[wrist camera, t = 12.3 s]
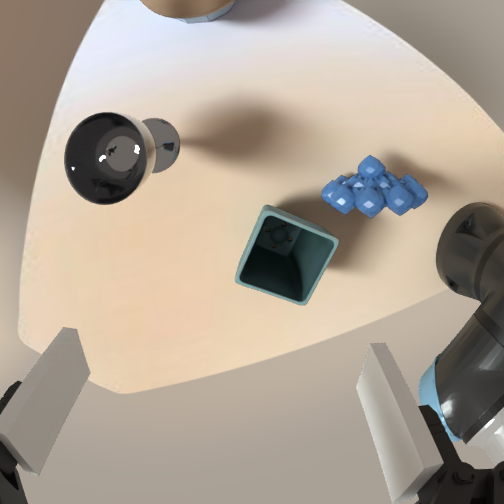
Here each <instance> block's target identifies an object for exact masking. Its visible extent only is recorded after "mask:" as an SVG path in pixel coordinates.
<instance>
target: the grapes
mask: <svg viewBox="0 0 504 504" xmlns="http://www.w3.org/2000/svg"><path fill="white" fill-rule="evenodd" d="M358 173H359V174H358ZM358 173H357V174H355V175H354V176H352V177H351V178H350V179H348V178H346V177H345V176H343V175H341V176H340V177H338V178H337V179H336V180H335V181H334V180H332V181H331V182H330V183H328V184H327V185H326V186H325V187H324V188H323V190H322V195H321V197H322V198H323V200H324V201H326V202H327V203H328V204H330V205H331V206H332V207H334V208H335V209H337V210H338V211H340V212H341V213H343V214H345V215H346V214H347V213H349V212H350V211H351V210H353V209H354V208H355V207H357V208H358V210H360V211H361V212H362V213H364V214H365V215H366V216H368V217H370V218H373V217H374V216H376V215H377V214H379V213H380V212H381V211H382V210H383V208H384V207H388V208H389V209H390V210H392V211H393V212H394V213H396V214H397V215H399V216H401V215H403V214H404V213H406V212H407V211H408V210H410V209H411V208H413V209H416V208H417V207H419V206H420V205H422V204H423V203H424V202H425V201H426V199H427V198H428V192H427V191H426V189H425V188H424V187H423V186H422V185H421V184H419V182H418V181H417V180H416V179H414V178H413V177H411V176H410V175H408V174H407V175H405V176H404V177H402V178H401V179H400V180H399V179H398V178H397V177H396V176H395V175H393V174H392V173H390V172H388V171H387V172H386V173H385V166H384V165H383V164H382V163H381V162H380V161H379V160H378V159H376V158H375V157H373V156H371V155H369V156H368V157H366V158H365V159H364V160H363V161H362V162H361V163H360V164H359V166H358Z"/></svg>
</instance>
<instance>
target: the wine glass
mask: <svg viewBox="0 0 504 504" xmlns="http://www.w3.org/2000/svg"><path fill="white" fill-rule="evenodd" d="M179 148H180V141H179V136H178V134H177V132H176V130H175V129H174V127H173V126H172V125H171V124H170V123H168V122H167V121H165V120H162V119H158V118H150V119H146V120H143V121H140V120H138V119H136V118H134V117H132V116H130V115H127V114H122V113H117V112H103V113H98V114H94V115H92V116H89V117H87V118H86V119H84V120H83V121H82V122H81V123H79V124H78V125H77V126H76V128H75V129H74V130H73V132H72V133H71V135H70V137H69V139H68V142H67V145H66V149H65V155H64V164H65V170H66V174H67V177H68V180H69V182H70V184H71V185H72V187H73V188H74V190H75V191H76V192H77V193H78V194H79V195H80V196H81V197H83V198H84V199H86V200H87V201H89V202H92V203H95V204H100V205H109V204H114V203H118V202H120V201H122V200H124V199H126V198H128V197H129V196H131V195H132V194H133V193H135V192H136V191H137V190H138V189H140V188H141V187H142V185H143V184H144V183H145V182H146V181H147V179H148V178H149V176H150V175H151V173H158V172H162V171H164V170H166V169H167V168H169V167H170V166H171V165H172V164H173V163H174V161H175V160H176V158H177V156H178V153H179Z"/></svg>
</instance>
